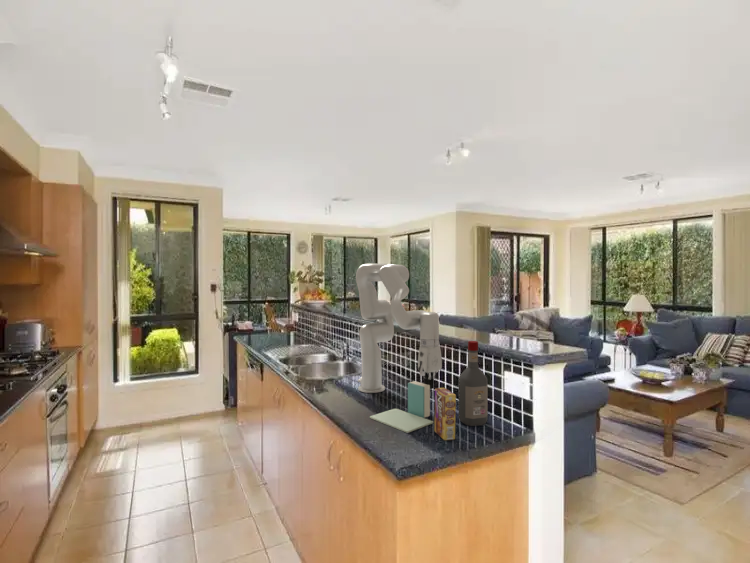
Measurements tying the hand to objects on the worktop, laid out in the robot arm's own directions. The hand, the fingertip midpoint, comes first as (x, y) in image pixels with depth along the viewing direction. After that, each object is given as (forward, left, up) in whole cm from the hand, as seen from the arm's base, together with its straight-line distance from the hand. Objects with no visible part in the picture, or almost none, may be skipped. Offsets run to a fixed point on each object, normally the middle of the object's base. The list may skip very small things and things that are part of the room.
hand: (429, 388), depth 166 cm
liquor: (+19, +3, -9) cm, 21 cm away
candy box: (+20, -15, -9) cm, 27 cm away
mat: (0, -16, -9) cm, 19 cm away
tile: (0, -6, -9) cm, 11 cm away
